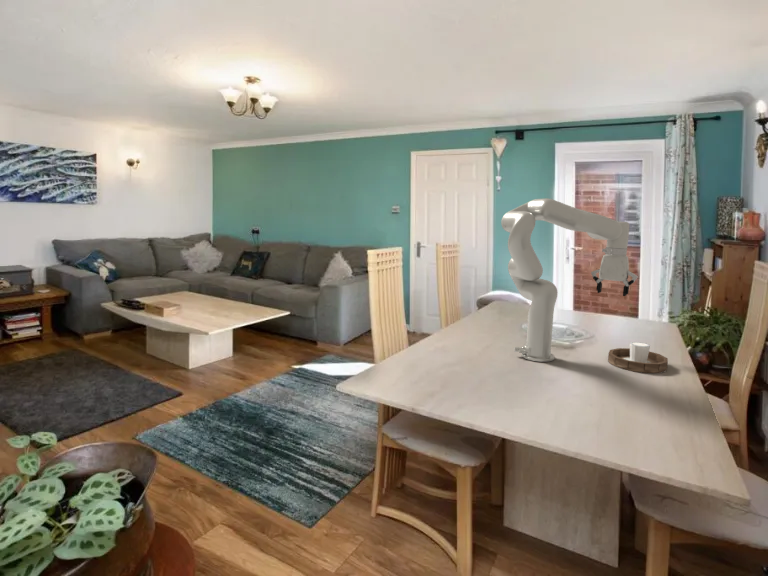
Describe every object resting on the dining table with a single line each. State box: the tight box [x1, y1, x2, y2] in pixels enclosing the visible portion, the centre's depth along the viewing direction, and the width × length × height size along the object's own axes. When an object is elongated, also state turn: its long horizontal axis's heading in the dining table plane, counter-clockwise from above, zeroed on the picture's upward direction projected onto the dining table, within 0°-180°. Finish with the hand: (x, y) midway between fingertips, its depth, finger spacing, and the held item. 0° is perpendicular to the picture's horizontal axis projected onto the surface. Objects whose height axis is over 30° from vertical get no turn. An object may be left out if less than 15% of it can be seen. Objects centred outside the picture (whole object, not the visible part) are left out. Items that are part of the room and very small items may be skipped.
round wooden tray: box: [607, 347, 669, 374], centre depth 177 cm, size 20×20×4 cm
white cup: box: [629, 341, 651, 363], centre depth 176 cm, size 7×7×7 cm
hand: (611, 294), depth 187 cm, fingers open, 9 cm apart
